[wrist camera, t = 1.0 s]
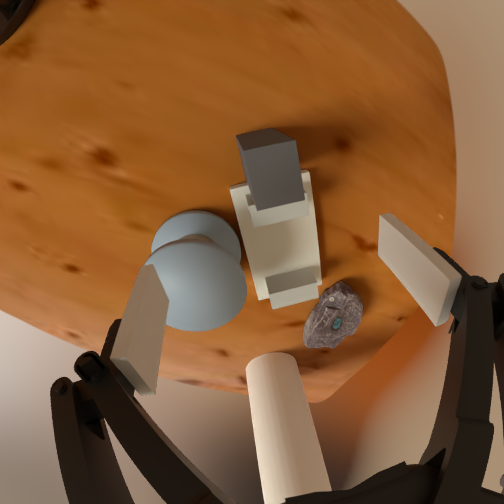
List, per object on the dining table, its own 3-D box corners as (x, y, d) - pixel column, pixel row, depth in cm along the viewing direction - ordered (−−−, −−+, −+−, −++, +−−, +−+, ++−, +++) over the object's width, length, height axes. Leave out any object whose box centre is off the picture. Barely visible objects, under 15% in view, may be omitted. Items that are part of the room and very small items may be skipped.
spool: (140, 223, 32) (121, 260, 25) (228, 199, 32) (231, 231, 25) (171, 293, 38) (163, 338, 31) (248, 276, 38) (256, 319, 31)
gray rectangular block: (235, 135, 29) (243, 150, 20) (271, 127, 28) (295, 140, 20) (245, 178, 31) (257, 211, 23) (280, 170, 31) (305, 200, 22)
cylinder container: (298, 348, 47) (345, 513, 21) (295, 377, 52) (331, 518, 26) (243, 355, 46) (268, 529, 20) (247, 384, 51) (269, 530, 25)
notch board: (229, 186, 31) (231, 200, 27) (306, 169, 31) (319, 180, 27) (257, 294, 40) (262, 317, 36) (319, 279, 39) (329, 300, 35)
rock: (367, 282, 41) (379, 301, 37) (338, 334, 47) (346, 353, 43) (322, 276, 40) (332, 296, 36) (296, 332, 45) (302, 353, 41)
